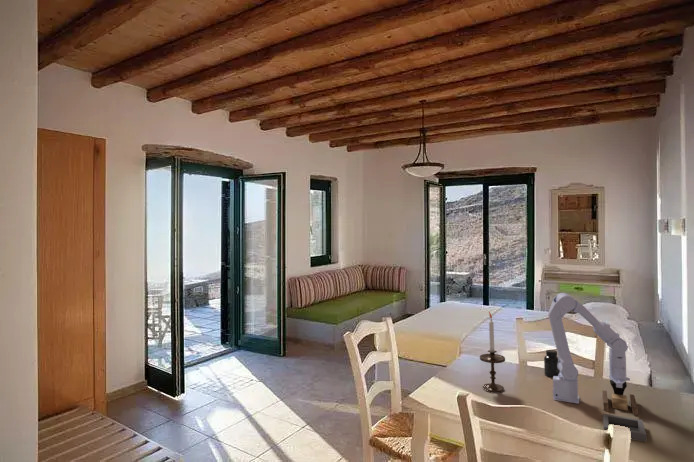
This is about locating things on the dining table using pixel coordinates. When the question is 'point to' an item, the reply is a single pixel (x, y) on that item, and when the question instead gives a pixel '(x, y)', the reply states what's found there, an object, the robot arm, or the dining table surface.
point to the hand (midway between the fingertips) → (618, 399)
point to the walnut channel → (632, 402)
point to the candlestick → (492, 361)
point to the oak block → (619, 401)
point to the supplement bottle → (551, 363)
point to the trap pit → (627, 425)
